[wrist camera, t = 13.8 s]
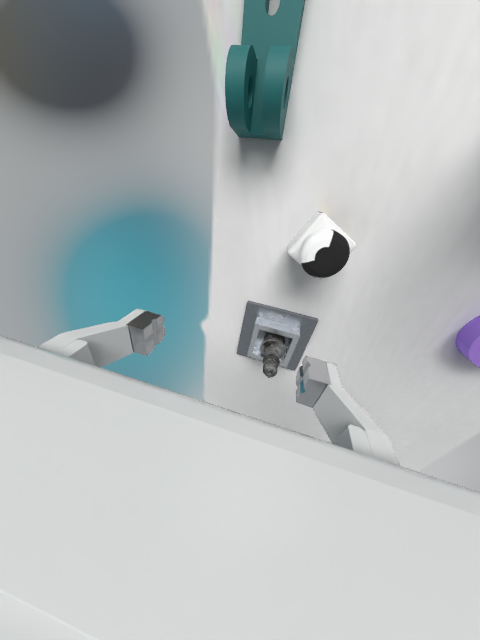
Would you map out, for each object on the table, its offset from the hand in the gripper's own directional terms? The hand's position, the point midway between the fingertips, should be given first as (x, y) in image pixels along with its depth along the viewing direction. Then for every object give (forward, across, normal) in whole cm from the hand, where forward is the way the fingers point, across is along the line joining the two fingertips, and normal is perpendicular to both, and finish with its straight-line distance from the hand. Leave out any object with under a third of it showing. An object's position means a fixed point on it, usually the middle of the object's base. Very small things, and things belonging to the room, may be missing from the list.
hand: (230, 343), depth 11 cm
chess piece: (+30, -6, +21) cm, 37 cm away
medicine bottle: (+31, -7, -2) cm, 32 cm away
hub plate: (+31, -5, +21) cm, 38 cm away
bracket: (+32, +7, -24) cm, 40 cm away
